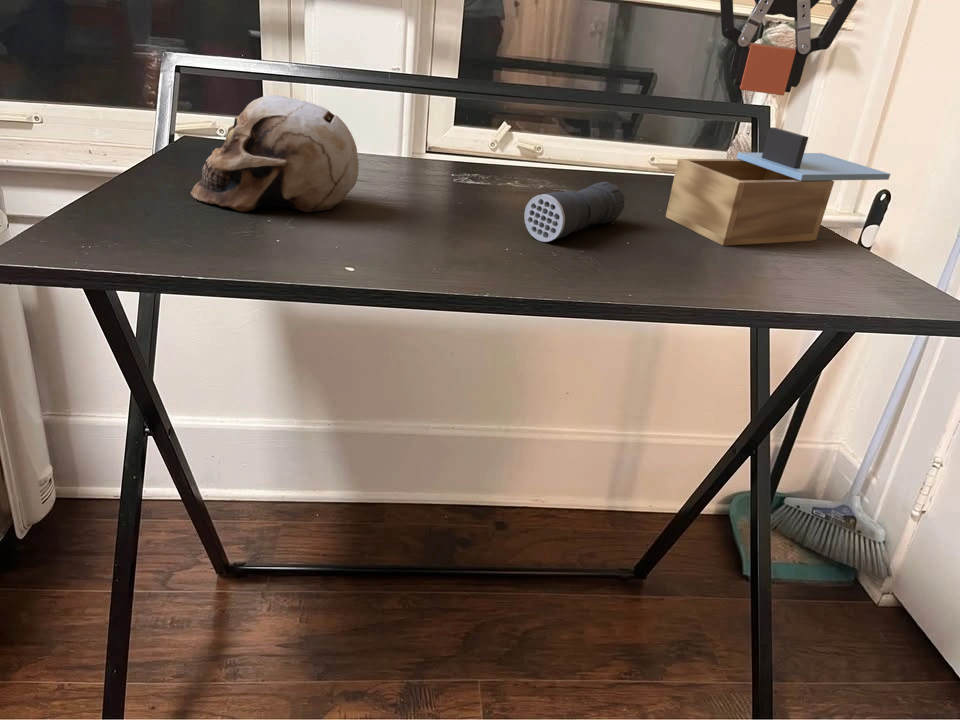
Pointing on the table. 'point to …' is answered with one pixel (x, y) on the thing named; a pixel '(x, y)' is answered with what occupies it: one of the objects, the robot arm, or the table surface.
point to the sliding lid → (806, 160)
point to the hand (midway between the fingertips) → (761, 87)
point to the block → (767, 68)
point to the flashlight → (572, 210)
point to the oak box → (745, 202)
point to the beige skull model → (281, 159)
